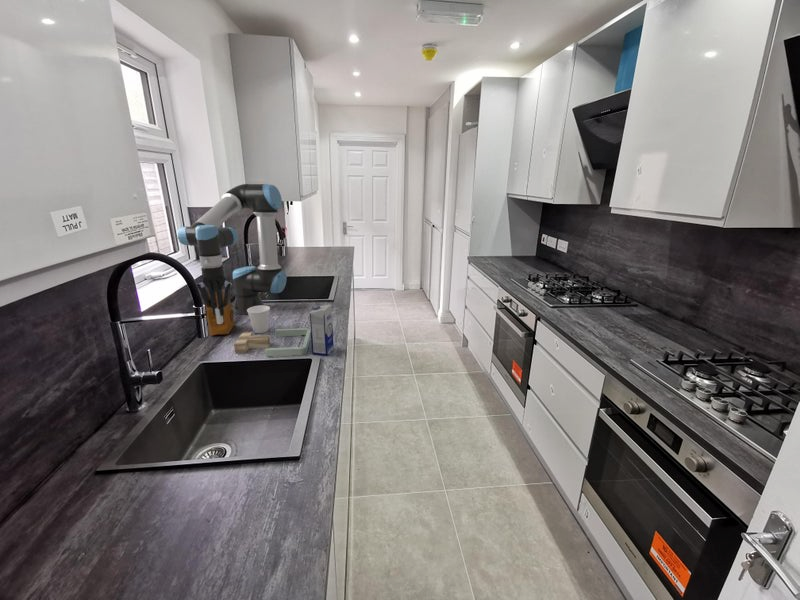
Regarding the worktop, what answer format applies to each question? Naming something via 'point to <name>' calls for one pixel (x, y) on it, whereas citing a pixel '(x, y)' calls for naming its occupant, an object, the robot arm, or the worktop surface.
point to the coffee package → (227, 319)
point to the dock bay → (291, 350)
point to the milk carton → (321, 330)
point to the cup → (259, 318)
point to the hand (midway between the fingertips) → (220, 322)
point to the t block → (251, 342)
